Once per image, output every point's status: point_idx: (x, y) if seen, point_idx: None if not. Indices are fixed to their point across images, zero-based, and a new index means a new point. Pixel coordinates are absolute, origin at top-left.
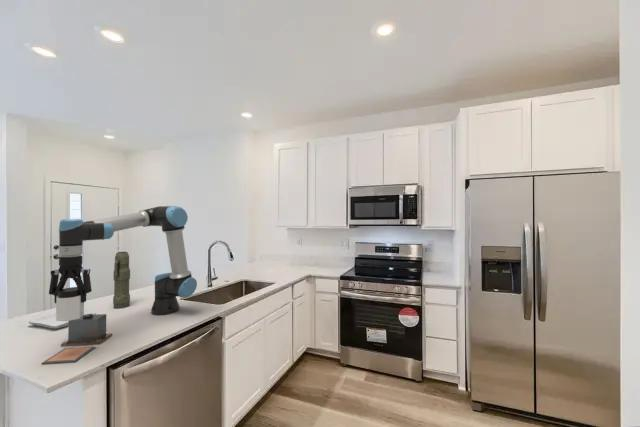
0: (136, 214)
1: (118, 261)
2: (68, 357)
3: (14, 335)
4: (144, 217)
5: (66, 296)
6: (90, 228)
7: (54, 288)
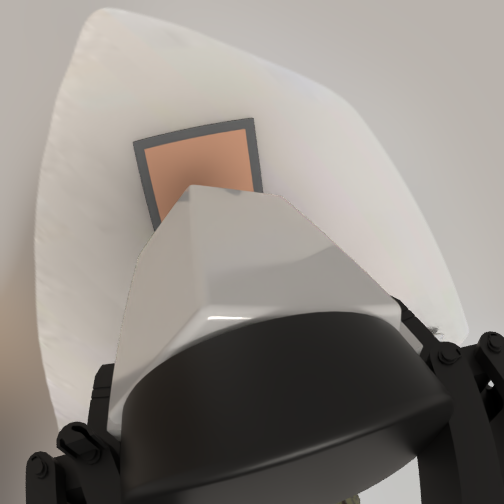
0: None
1: None
2: (184, 162)
3: (443, 290)
4: None
5: (211, 359)
6: None
7: (489, 410)
